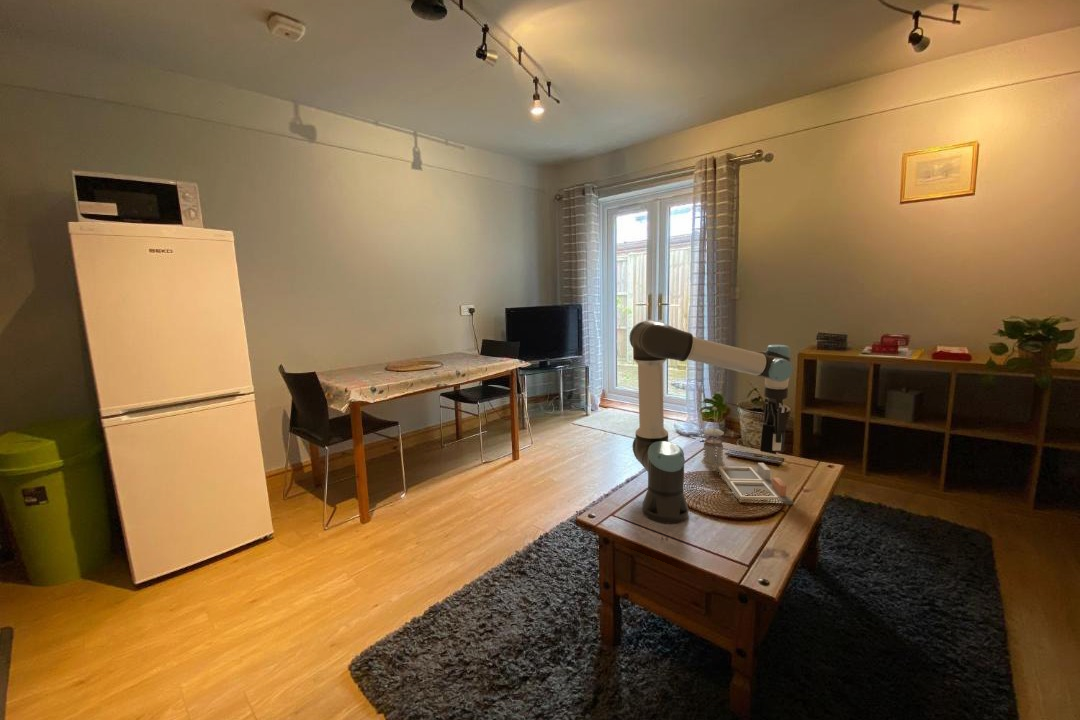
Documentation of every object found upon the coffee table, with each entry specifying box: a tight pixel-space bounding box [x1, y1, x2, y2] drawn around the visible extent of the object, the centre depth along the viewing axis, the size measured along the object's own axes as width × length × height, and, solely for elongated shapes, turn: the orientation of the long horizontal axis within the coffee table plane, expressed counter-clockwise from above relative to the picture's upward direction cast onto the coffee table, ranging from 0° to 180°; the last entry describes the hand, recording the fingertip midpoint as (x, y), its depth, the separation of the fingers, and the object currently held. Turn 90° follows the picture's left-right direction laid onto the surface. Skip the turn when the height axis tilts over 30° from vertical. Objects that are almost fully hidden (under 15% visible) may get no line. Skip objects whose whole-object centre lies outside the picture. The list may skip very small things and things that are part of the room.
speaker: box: [760, 423, 786, 455], centre depth 162 cm, size 8×6×10 cm
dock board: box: [715, 462, 794, 505], centre depth 166 cm, size 18×28×5 cm, turn 174°
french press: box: [700, 406, 726, 468], centre depth 187 cm, size 10×12×25 cm
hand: (772, 446), depth 163 cm, fingers closed on speaker, 6 cm apart
